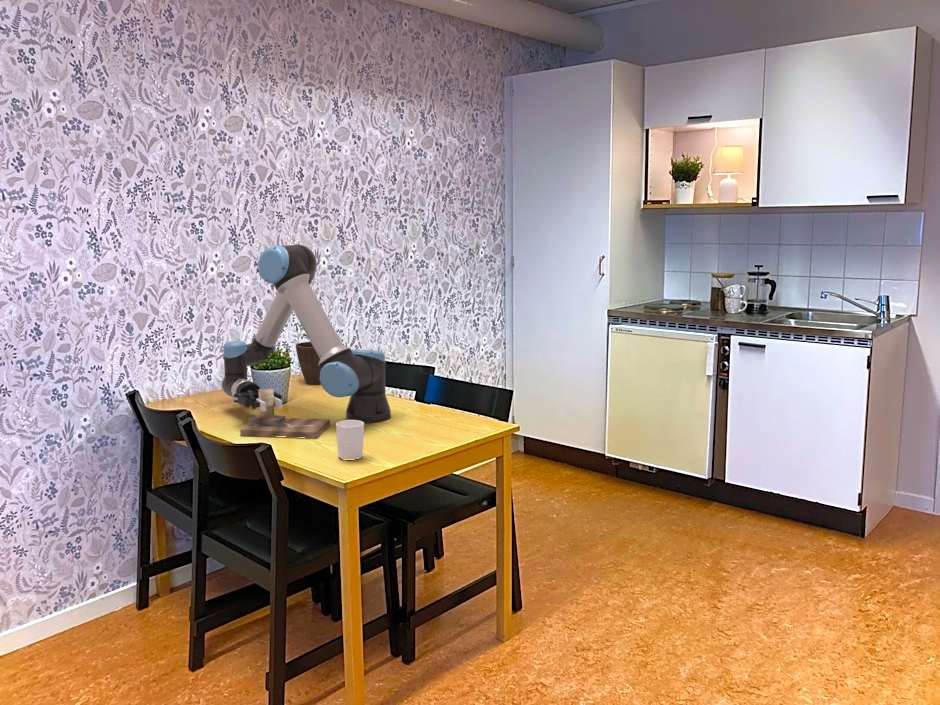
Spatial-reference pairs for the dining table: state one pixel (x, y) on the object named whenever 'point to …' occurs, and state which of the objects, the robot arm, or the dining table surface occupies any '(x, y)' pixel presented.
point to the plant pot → (309, 362)
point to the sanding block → (267, 411)
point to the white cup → (350, 438)
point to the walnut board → (289, 428)
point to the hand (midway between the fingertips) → (273, 405)
